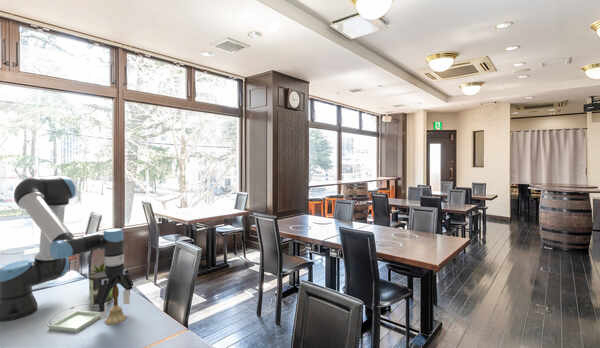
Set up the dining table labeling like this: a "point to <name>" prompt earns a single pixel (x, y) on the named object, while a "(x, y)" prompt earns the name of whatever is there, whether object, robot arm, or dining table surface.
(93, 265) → the house plant
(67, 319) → the tray
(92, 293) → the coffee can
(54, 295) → the dining table surface
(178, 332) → the dining table surface
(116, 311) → the hand bell
